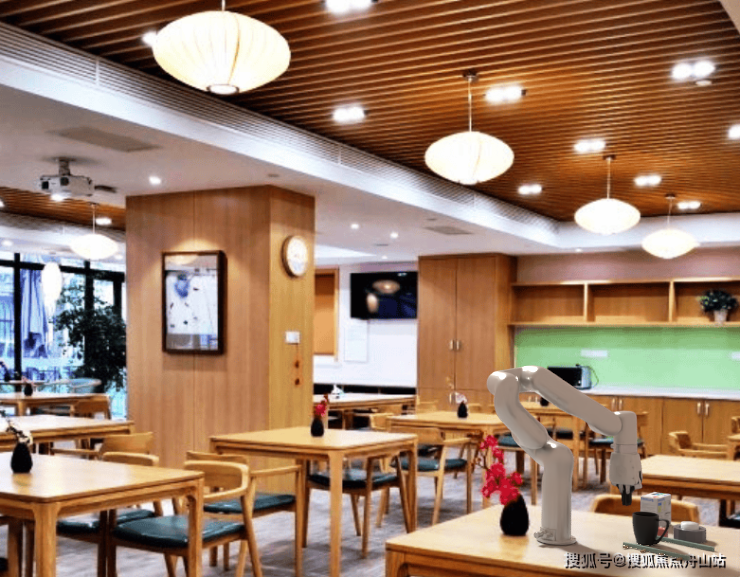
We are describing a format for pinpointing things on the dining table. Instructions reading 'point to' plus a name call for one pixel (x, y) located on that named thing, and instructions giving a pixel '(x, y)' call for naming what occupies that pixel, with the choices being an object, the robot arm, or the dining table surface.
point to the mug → (647, 527)
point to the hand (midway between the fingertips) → (626, 504)
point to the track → (662, 552)
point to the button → (689, 525)
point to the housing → (690, 534)
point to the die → (660, 532)
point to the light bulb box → (657, 505)
